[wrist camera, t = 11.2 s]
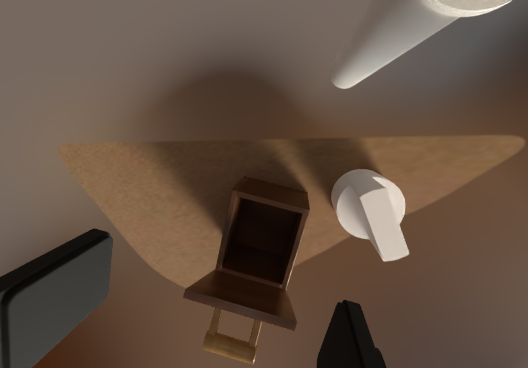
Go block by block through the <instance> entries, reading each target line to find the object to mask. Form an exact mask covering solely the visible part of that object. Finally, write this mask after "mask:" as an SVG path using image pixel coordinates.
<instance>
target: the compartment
mask: <svg viewBox="0 0 528 368" xmlns="http://www.w3.org/2000/svg"><path fill="white" fill-rule="evenodd" d="M309 212H310V207H309V200H308V193H307V192H305V191H301V190H297V189H293V188H289V187H285V186H282V185H278V184H274V183H270V182H266V181H262V180H259V179H255V178H251V177H247V176H245V177H244V178H243V179H242V180H241V181H240V182H239V183H238V184H237V185H236V186H235V187H234V188H233V189H232V193H231V198H230V203H229V207H228V212H227V217H226V222H225V226H224V231H223V236H222V241H221V245H220V250H219V255H218V260H217V264H216V270H219V271H223V272H226V273H230V274H233V275H237V276H240V277H243V278H247V279H250V280H254V281H257V282H261V283H264V284H268V285H271V286H275V287H278V288H282V289H285V290H286V288H287V285H288V282H289V278H290V275H291V272H292V269H293V265H294V262H295V259H296V255H297V252H298V249H299V245H300V242H301V239H302V235H303V232H304V229H305V225H306V222H307V219H308V215H309Z"/></svg>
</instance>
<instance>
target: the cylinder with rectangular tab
mask: <svg viewBox="0 0 528 368" xmlns="http://www.w3.org/2000/svg"><path fill="white" fill-rule="evenodd" d="M331 201H332V205H333V208H334V210H335V213H336V215H337V217H338V220H339V221H340V223H341V225H342V227H343V228H344V229H345V230H346V231H347V232H348V233H350V234H352V235H354V236H356V237H359V238H363V239H370V240H371V242H372V244H373V245H374V247H375V249H376V250H377V252H378V253H379V255H380V256H381V258H382V260H383V261H392V260H397V259H400V258H402V257H404V256H407V255H408V254H409V251H408V248H407V245H406V242H405V240H404V237H403V234H402V231H401V228H400V225H399V224H400V222H401V221H402V218H403V216H404V214H405V200H404V196H403V195H402V193H401V191H400V189H399V188H398V187H397V186H396V185H395V184H394V183H392V182H391V181H389V180H387V179H386V178H384V177H383V176H381V175H379V174H378V173H376V172H374V171H371V170H368V169H356V170H352V171H349V172H347V173H345V174H344V175H342V176H341V177H340V178H339V179H338V180H337V182H336V183H335V185H334V187H333V190H332V193H331Z"/></svg>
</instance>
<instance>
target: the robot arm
mask: <svg viewBox="0 0 528 368" xmlns="http://www.w3.org/2000/svg"><path fill="white" fill-rule="evenodd" d="M112 244H113V239H112V237H110V234H109V233H108V232H105V231H102V230H98V229H92V230H90V231H88V232H86V233H84V234H82V235H80V236H78V237H76V238H75V239H72V240H70V241H69V242H67V243H65V244H63V245H61V246H59V247H57V248H55V249H53V250H51V251H49V252H47V253H46V254H44V255H42V256H40V257H38V258H36V259H34V260H32V261H30V262H28V263H26V264H25V265H23V266H21V267H19V268H17V269H15V270H13V271H11V272H9V273H7V274H5V275H3V276H1V277H0V368H32V367H33V366H34V365H35V364H36V363H37V362H38V361H39V360H40V359H41V358H43V357H44V356H45V355H46V354H47V353H48V352H49V351H50V350H51V349H52V348H53V347H54V346H56V345H57V344H58V343H59V342H60V341H61V340H62V339H63V338H64V337H65V336H66V335H67V334H69V333H70V332H71V331H72V330H73V329H74V328H75V327H76V326H77V325H78V324H79V323H80V322H82V320H84V319H85V318H86V317H87V316H88V315H89V314H90V313H91V312H92V311H93V310H94V309H95V308H97V307H98V306H99V305H100V304H101V303H102V302H103V301H104V300H105V298H106V297H107V295H108V290H109V279H110V268H111V255H112ZM317 368H386V365H385V362H384V360H383V357H382V354H381V352H380V351H379V349H378V348H375V346H374V343H373V340H372V338H371V335H370V332H369V329H368V326H367V323H366V320H365V318H364V314H363V311H362V309H361V306H360V304H358V303H354V302H351V301H347V300H344V301H343V302H342V303H340V302H338V303H337V305H336V308H335V311H334V314H333V316H332V319H331V322H330V324H329V327H328V330H327V332H326V335H325V338H324V341H323V343H322V346H321V349H320V352H319V354H318V358H317Z"/></svg>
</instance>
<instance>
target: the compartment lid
mask: <svg viewBox="0 0 528 368" xmlns="http://www.w3.org/2000/svg"><path fill="white" fill-rule="evenodd" d="M183 298H186V299H189V300H192V301H196V302H199V303H202V304H206V305H210V306H212V307H215V311H214V315H213V318H212V322H211V325H210V329H209V330H208V331H207V333H206V336H205V339H204V342H203V346H202V349H204V350H207V351H210V352H213V353H217V354H220V355H223V356H227V357H230V358H233V359H236V360H239V361H243V362H246V363H249V364H253V363H254V359H255V355H256V351H257V345H256V343H257V339H258V335H259V331H260V327H261V323H262V321H263V322H266V323H270V324H273V325H276V326H280V327H283V328H287V329H290V330H293V331H295V328H296V324H297V321H296V318H295V315H294V312H293V308H292V305H291V303H290V299H289V297H288V293H287V290H285V289H282V288H278V287H275V286H271V285H268V284H264V283H261V282H257V281H254V280H250V279H247V278H243V277H240V276H237V275H233V274H230V273H226V272H223V271H219V270H216V269H215V270H213V271H212V272H210V273H209V274H207V275H206V276H204V277H203V278H202V279H200V280H199V281H197V282H196V283H194V284H193V285H191V286H190V287H188V288H187V289H185V293H184V296H183ZM223 310H226V311H229V312H233V313H236V314H239V315H243V316H246V317H250V318H253V319H255V321H254V325H253V328H252V332H251V337H250V340H249V342H246V341H242V340H239V339H235V338H232V337H229V336H226V335H222V334H219V333H216V332H217V329H218V325H219V322H220V318H221V314H222V311H223Z"/></svg>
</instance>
